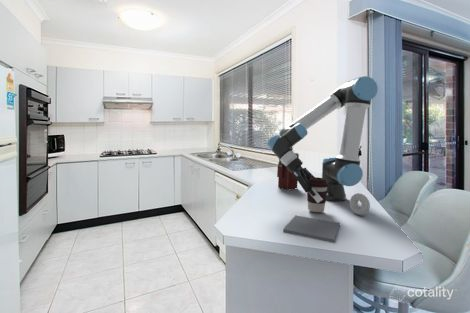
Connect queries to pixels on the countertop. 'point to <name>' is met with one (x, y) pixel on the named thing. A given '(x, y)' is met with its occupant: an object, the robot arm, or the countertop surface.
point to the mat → (313, 228)
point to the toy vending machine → (286, 176)
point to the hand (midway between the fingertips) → (323, 198)
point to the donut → (364, 202)
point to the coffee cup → (321, 189)
